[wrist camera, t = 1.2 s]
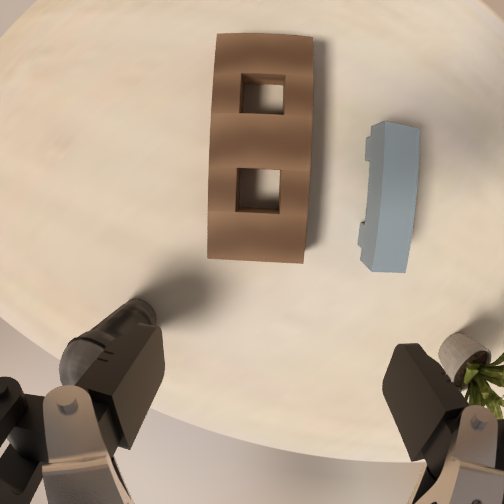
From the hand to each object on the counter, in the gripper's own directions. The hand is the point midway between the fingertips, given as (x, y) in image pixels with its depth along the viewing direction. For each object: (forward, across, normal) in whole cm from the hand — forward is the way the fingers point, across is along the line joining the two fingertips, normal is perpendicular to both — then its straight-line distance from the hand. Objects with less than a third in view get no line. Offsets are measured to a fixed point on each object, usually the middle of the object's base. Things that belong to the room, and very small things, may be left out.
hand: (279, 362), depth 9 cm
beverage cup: (+22, +15, +12) cm, 29 cm away
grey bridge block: (+22, -10, -5) cm, 25 cm away
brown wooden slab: (+22, +2, -9) cm, 24 cm away
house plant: (+22, -27, +14) cm, 38 cm away
